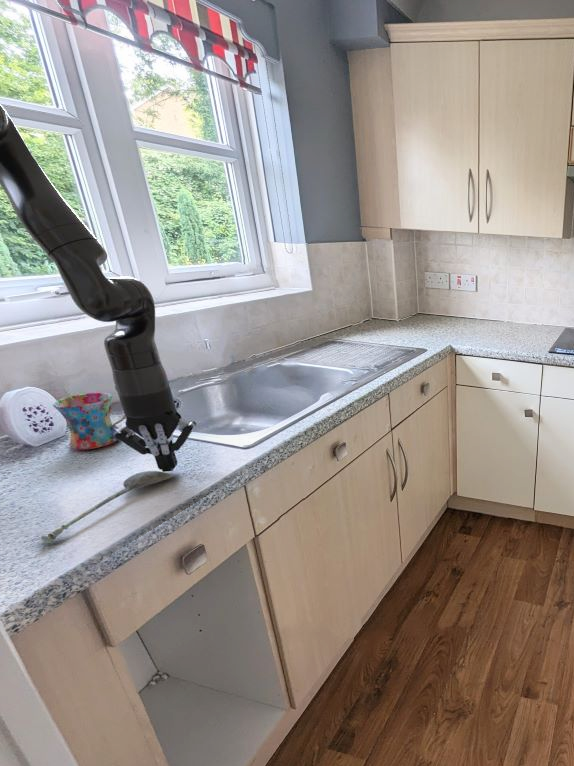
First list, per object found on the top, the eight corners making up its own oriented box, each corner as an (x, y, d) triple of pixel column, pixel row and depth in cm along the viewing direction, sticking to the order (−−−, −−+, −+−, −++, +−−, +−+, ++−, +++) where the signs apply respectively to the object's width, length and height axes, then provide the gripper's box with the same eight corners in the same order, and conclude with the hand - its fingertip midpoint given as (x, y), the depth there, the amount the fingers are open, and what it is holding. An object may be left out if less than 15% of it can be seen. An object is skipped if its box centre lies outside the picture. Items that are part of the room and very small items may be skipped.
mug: (63, 456, 96) (47, 410, 92) (72, 440, 103) (58, 396, 99) (137, 444, 102) (125, 400, 99) (141, 430, 109) (129, 388, 106)
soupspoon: (182, 479, 90) (152, 478, 91) (178, 464, 89) (148, 463, 90) (65, 546, 70) (27, 544, 70) (58, 527, 69) (19, 525, 69)
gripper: (192, 378, 90) (213, 456, 96) (110, 385, 86) (137, 465, 92) (178, 390, 83) (201, 473, 89) (88, 398, 79) (119, 484, 85)
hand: (169, 469), depth 90 cm, fingers closed
